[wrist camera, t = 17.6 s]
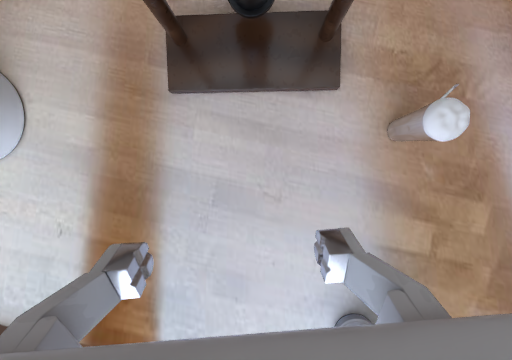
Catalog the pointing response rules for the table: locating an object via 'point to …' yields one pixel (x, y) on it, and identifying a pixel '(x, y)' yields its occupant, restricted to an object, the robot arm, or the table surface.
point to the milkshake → (432, 121)
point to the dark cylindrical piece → (251, 7)
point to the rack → (252, 50)
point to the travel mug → (352, 321)
